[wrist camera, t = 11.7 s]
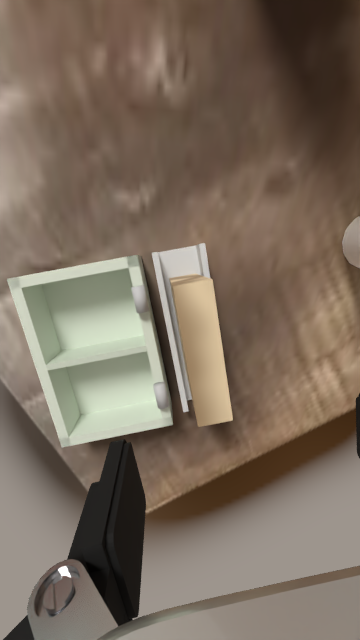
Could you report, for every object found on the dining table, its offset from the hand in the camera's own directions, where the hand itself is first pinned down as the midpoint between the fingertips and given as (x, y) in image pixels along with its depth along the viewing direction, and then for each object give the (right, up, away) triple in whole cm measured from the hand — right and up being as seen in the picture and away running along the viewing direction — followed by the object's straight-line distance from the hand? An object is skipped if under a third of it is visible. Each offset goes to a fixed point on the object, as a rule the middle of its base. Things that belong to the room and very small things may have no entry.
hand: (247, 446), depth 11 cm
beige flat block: (-1, +4, +20) cm, 21 cm away
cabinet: (-7, +3, +21) cm, 22 cm away
